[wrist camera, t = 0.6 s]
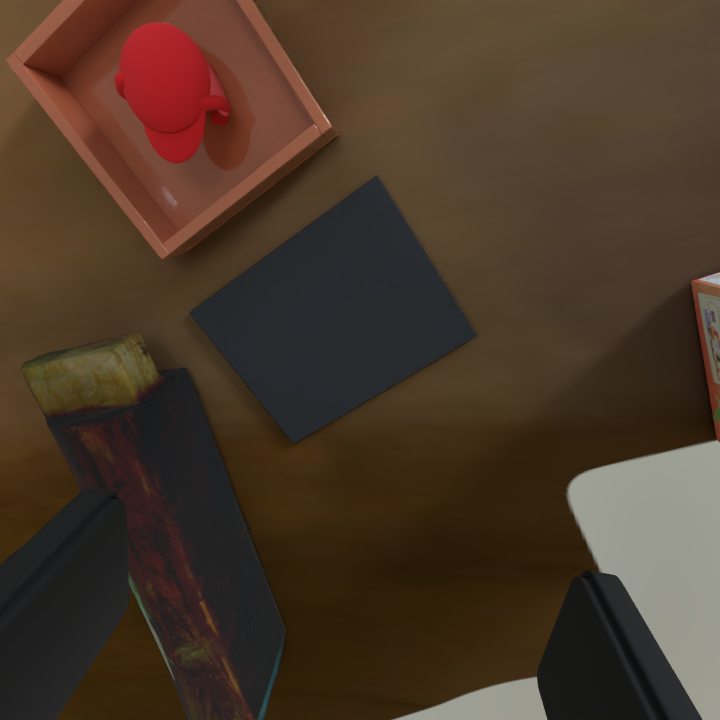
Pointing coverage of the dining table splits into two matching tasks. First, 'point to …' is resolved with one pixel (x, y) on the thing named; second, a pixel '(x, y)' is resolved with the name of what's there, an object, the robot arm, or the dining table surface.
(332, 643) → the dining table surface
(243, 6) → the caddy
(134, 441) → the packaged item
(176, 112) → the cap
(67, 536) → the robot arm
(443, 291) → the mat
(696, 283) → the cracker box
